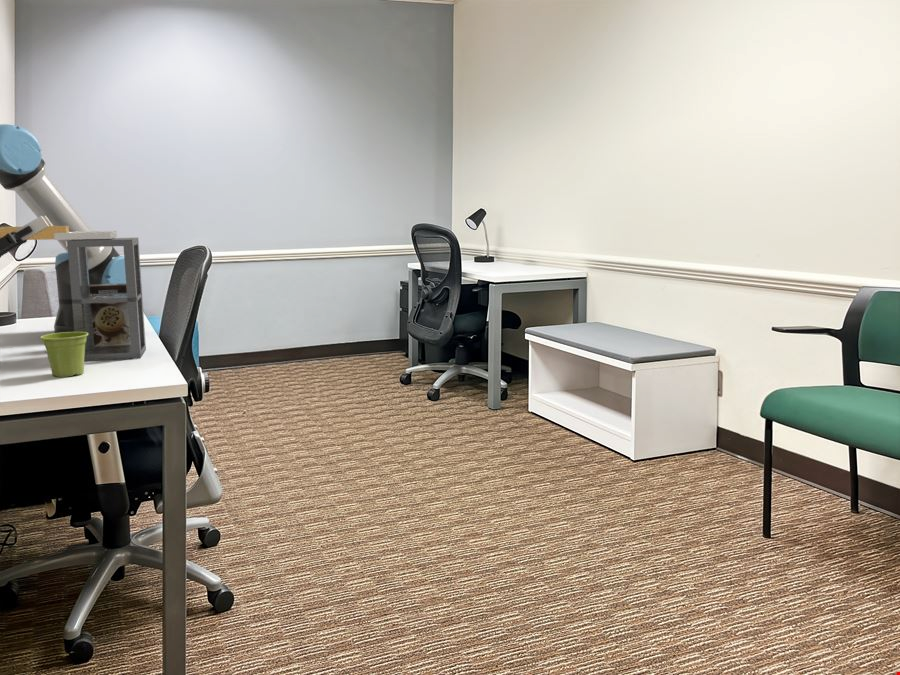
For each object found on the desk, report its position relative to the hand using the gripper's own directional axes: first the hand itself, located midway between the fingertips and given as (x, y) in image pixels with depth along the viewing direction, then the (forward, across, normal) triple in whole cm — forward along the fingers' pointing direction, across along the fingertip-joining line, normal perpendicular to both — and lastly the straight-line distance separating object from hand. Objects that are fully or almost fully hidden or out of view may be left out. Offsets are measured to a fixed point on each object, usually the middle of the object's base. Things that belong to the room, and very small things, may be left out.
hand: (46, 220), depth 194 cm
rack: (-6, 0, -34) cm, 35 cm away
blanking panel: (0, 0, -5) cm, 5 cm away
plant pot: (-11, +22, -31) cm, 40 cm away
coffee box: (-7, -14, -33) cm, 37 cm away
